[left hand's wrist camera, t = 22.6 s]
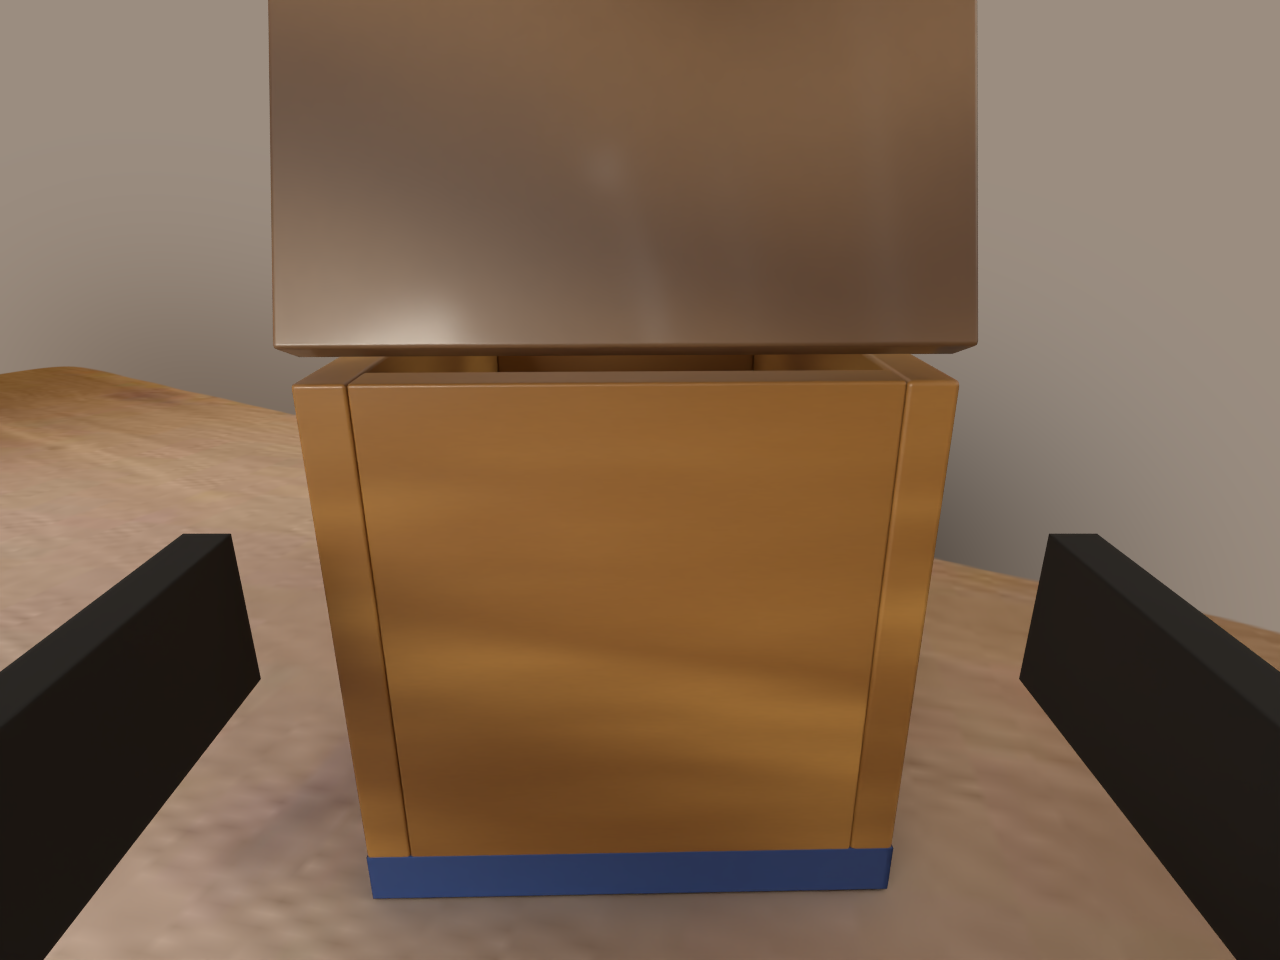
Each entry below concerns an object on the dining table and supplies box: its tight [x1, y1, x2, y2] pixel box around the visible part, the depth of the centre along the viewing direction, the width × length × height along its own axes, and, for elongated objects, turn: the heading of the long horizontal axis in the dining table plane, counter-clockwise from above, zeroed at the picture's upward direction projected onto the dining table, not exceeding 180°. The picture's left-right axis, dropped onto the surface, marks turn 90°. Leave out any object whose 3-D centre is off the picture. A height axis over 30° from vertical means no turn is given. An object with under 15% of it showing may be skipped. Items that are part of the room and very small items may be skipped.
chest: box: [292, 354, 959, 899], centre depth 21 cm, size 15×10×10 cm
